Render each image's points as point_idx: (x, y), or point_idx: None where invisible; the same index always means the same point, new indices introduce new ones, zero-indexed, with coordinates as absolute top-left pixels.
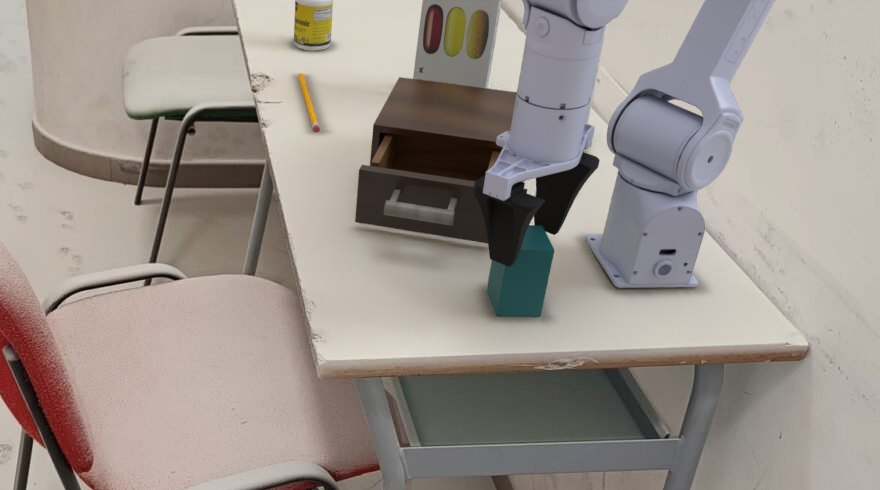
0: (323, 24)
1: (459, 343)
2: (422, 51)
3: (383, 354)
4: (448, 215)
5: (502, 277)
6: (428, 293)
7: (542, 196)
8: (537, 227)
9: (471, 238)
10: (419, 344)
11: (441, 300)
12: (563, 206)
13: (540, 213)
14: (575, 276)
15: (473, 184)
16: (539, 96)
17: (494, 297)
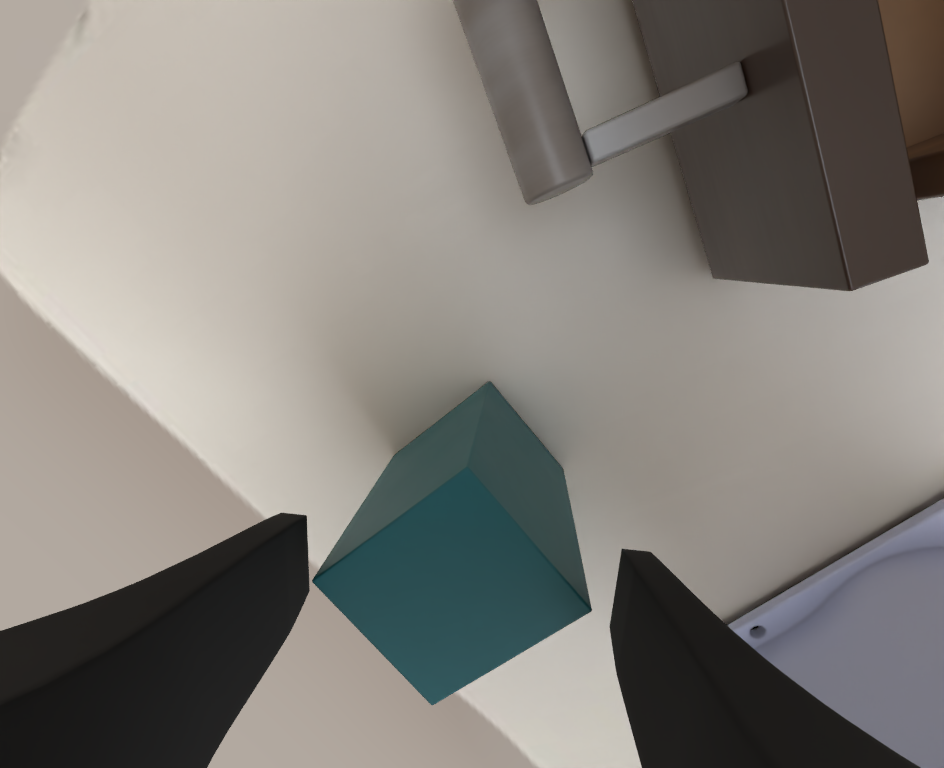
0: None
1: (237, 439)
2: None
3: (72, 325)
4: (528, 173)
5: (359, 509)
6: (365, 262)
7: (674, 672)
8: (558, 603)
9: (699, 217)
10: (165, 369)
11: (360, 310)
12: (650, 763)
13: (638, 608)
14: (714, 534)
15: (846, 134)
16: None
17: (417, 442)
